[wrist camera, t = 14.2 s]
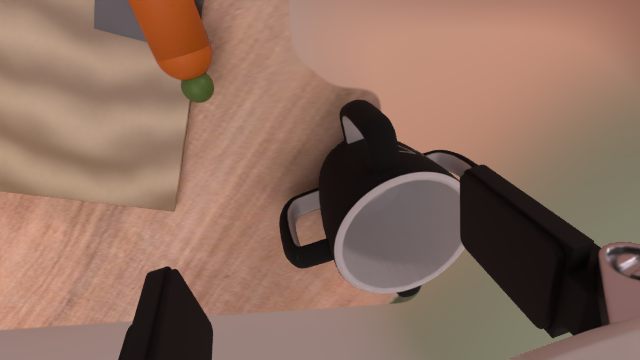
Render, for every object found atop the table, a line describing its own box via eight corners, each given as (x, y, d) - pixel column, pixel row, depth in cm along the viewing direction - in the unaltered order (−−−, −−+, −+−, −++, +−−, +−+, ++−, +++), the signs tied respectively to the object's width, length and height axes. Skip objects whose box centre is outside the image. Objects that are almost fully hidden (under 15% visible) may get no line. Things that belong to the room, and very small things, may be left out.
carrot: (81, -110, 21) (62, -131, 18) (147, -122, 22) (141, -145, 18) (178, 103, 28) (178, 116, 25) (225, 88, 29) (231, 99, 26)
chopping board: (-163, -178, 19) (-195, -191, 18) (211, -44, 26) (210, -46, 24) (-86, 171, 28) (-103, 181, 27) (176, 203, 35) (174, 212, 33)
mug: (455, 149, 39) (534, 207, 29) (367, 249, 44) (409, 329, 33) (349, 65, 32) (405, 102, 22) (256, 195, 36) (266, 276, 26)
